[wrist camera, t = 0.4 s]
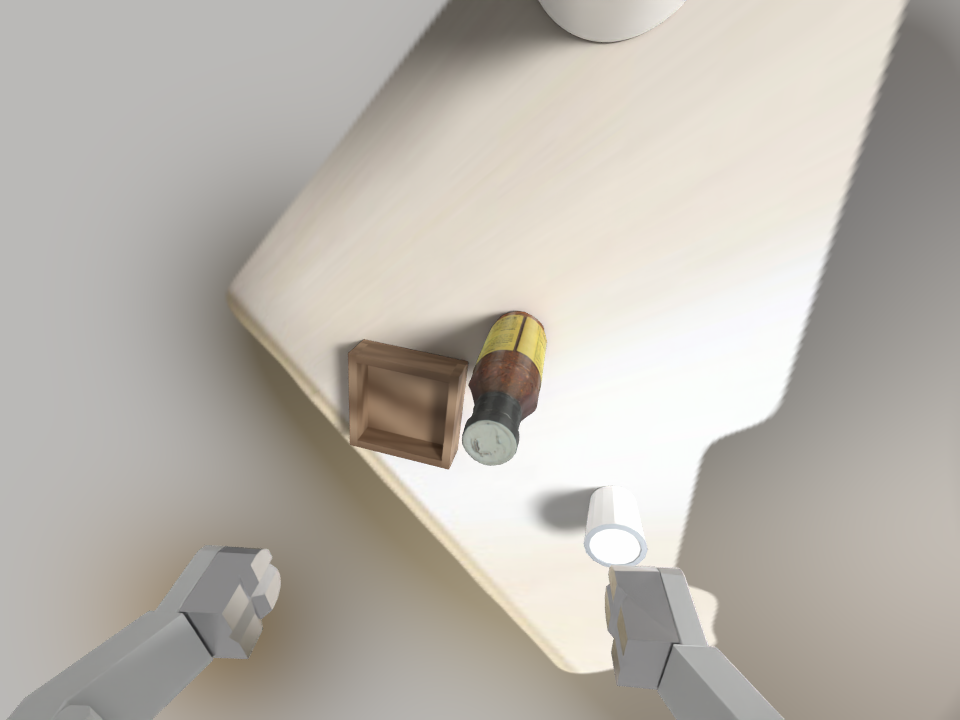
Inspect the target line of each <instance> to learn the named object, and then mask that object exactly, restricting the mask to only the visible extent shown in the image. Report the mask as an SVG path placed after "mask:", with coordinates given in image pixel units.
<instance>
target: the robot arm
mask: <svg viewBox="0 0 960 720" xmlns="http://www.w3.org/2000/svg"><path fill="white" fill-rule="evenodd" d="M685 1H686V0H539V2H540V4H541V5H542V7H543V8H544V10H545V11H546V12H547V14H548V15H549V16H550V17H551V18H552V19H553V20H554V21H555V22H556V23H557V24H558V25H559V26H560V27H562V28H563V29H565V30H566V31H568V32H569V33H571V34H573V35H575V36H578V37H580V38H583V39H586V40H590V41H597V42H615V41H621V40H626V39H629V38H633V37H636V36H638V35H641V34H643V33H645V32H647V31H649V30H651V29H653V28H654V27H656V26H657V25H659V24H661V23H662V22H663V21H665V20H666V19H667V18H669V17H670V16H671V15H672V14H673V13H674V12H675V11H677V10H678V9H679V8H680V7H681V6H682V5H683V4H684V3H685ZM271 559H272V556H271V554H270V552H269V550H268V549H260V548H244V547H228V546H212V545H205V546H204V547H203V548H201V549H200V550H199V551H198V552H197V553H196V554H195V556H194V557H193V559H192V560H191V562H190V563H189V564H188V566H187V567H186V568H185V570H184V571H183V573H182V574H181V575H180V577H179V578H178V580H177V581H176V582H175V584H174V585H173V587H172V588H171V589H170V591H169V592H168V594H167V595H166V596H165V598H164V600H162V602H161V603H160V605H159V606H158V607H157V609H156V610H155V611H148V612H147V613H146V614H144V615H142V616H141V617H139V618H138V619H137V620H135V621H134V622H132V623H131V624H129V625H128V626H127V627H125V628H124V629H122V630H121V631H119V632H118V633H117V634H115V635H114V636H112V637H111V638H109V639H108V640H107V641H105V642H104V643H102V644H101V645H100V646H98V647H97V648H95V649H94V650H92V651H91V652H90V653H88V654H87V655H85V656H84V657H82V658H81V659H80V660H78V661H77V662H76V663H74V664H72V665H71V666H70V667H68V668H67V669H65V670H64V671H63V672H61V673H60V674H58V675H57V676H56V677H54V678H53V679H51V680H50V681H48V682H47V683H45V684H44V685H42V686H41V687H40V688H38V689H37V690H35V691H34V692H32V693H31V694H30V695H28V696H27V697H25V698H24V700H23V701H22V702H21V703H20V704H19V705H18V707H17V708H16V709H15V710H14V712H13V713H12V714H11V715H10V716H9V718H8V719H7V720H152V719H153V718H154V717H155V716H156V715H157V714H158V713H159V712H160V711H161V710H162V709H163V708H164V707H165V706H167V705H168V704H169V703H170V702H171V701H172V699H174V698H175V697H176V696H177V695H178V694H179V693H180V692H181V691H182V690H183V689H184V688H185V687H186V686H187V685H188V684H189V683H190V682H191V681H192V680H193V679H194V678H195V677H196V676H197V675H198V674H199V673H200V672H201V671H202V670H203V669H204V668H205V667H206V666H207V665H208V664H209V663H210V662H211V661H212V660H213V658H212V657H214V658H240V659H248V658H249V656H250V654H251V652H252V650H253V648H254V646H255V644H256V642H257V640H258V638H259V636H260V634H261V632H262V630H263V627H262V620H261V619H262V618H263V617H264V616H266V615H267V614H268V613H269V612H270V611H271V610H272V609H273V607H274V605H275V603H276V601H277V598H278V595H279V590H280V585H281V581H280V574H279V572H278V569H277V568H275V567H273V565H271V564H270V561H271ZM608 575H609V581H610V584H609V585H608V586H606V592H605V613H606V622H607V628H608V631H609V633H610V634H611V635H612V636H613V638H614V640H613V645H612V651H611V654H612V660H613V666H614V671H615V678H616V684H617V686H627V687H637V688H647V689H656V690H658V694H659V695H660V697H661V698H662V699H663V701H664V702H665V704H666V705H667V707H668V708H669V710H670V711H671V713H672V714H673V716H674V717H675V719H676V720H785V719H784V718H783V717H782V716H781V715H780V714H779V713H778V712H777V711H776V710H775V709H774V708H773V707H772V706H771V705H770V704H769V702H768V701H767V700H766V699H765V698H764V697H763V696H762V695H761V694H760V693H759V692H758V691H757V690H756V689H755V688H754V686H753V685H752V684H751V683H750V682H749V681H748V680H747V679H746V678H745V677H744V676H743V675H742V674H741V673H740V672H739V671H738V669H737V668H736V667H735V666H734V665H733V664H732V663H731V662H730V661H729V660H728V659H727V658H726V657H725V656H724V655H723V654H722V653H721V651H720V650H719V649H718V648H717V647H713V646H709V645H708V642H707V640H706V637H705V634H704V631H703V628H702V625H701V622H700V619H699V616H698V613H697V610H696V607H695V604H694V601H693V599H692V596H691V593H690V590H689V587H688V584H687V581H686V578H685V575H684V573H683V572H682V570H681V569H679V568H664V567H655V566H624V565H611V566H610V568H609V574H608Z"/></svg>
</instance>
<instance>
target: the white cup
mask: <svg viewBox="0 0 960 720" xmlns="http://www.w3.org/2000/svg"><path fill="white" fill-rule="evenodd" d="M584 547H585V550H586V553H587V554H588V555H589V556H590V557H591V558H592V559H593V560H594V561H596V562H597V563H599V564H601V565H603V566H607V567H610V566H611V565H624V566H634V565H637V564H638V563H640V562H641V561H642V560H643V559H644V558H645V556H646V553H647V550H648V549H647V545H646V541H645V537H644V533H643V529H642V525H641V521H640V517H639V513H638V509H637V505H636V501H635V497H634V496H633V495H632V494H631V493H630V492H629V491H627V490H626V489H624V488H622V487H617V486H604V487H601V488H599V489H597V490H595V492H594V493H593V494H592V495H591V498H590V503H589V510H588V517H587V524H586V532H585V539H584Z"/></svg>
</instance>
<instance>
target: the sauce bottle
mask: <svg viewBox="0 0 960 720" xmlns="http://www.w3.org/2000/svg"><path fill="white" fill-rule="evenodd" d="M546 343H547V340H546V336H545V332H544V328H543V326H542V324H541V323H540V322H539V321H538V320H537V319H536V318H534V317H533V316H532V315H529V314H528V313H526V312H521V311H515V312H511V313H507V314H505V315H503V316H501V317H500V318H499V319H498V320H497V321H496V323H495V324H494V325H493V326H492V328H491V330H490V332H489V334H488V337H487V339H486V341H485V343H484V346H483V348H482V350H481V353H480V355H479V358H478V360H477V362H476V365H475V367H474V370H473V375H472V377H471V380H470V382H469V387H470V390H471V392H472V396H473V400H474V404H475V406H474V408H473V414H472V417H470V418H469V419H468V420H467V422H466V425H465V428H464V432H463V435H462V444H463V446H464V448H465V450H466V452H467V453H468V454H469V455H470V456H471V457H472V458H473V459H474V460H476V461H478V462H479V463H481V464H484V465H490V466H491V465H501V464H503V463H505V462H507V461H509V460H510V459H511V458H512V457H513V456H514V454H515V453H516V450H517V446H518V443H519V431H518V428H519V425H520V422H521V421H522V420H523V419H524V418H526V417H527V416H528V415H530V414H532V413H533V412H534V411H535V409H536V407H537V402H538V396H539V391H540V388H541V381H542V373H543V365H544V358H545V351H546Z"/></svg>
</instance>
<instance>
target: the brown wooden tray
mask: <svg viewBox="0 0 960 720" xmlns="http://www.w3.org/2000/svg"><path fill="white" fill-rule="evenodd" d="M467 368H468V361H463V360H459V359H454V358H449V357H445V356H440V355H435V354H430V353H426V352H421V351H416V350H412V349H407V348H402V347H398V346H393V345H388V344H384V343H379V342H374V341H369V340H365V339H364V340H363V341H362V342H360V343H359V344H358V345H357V346H356V347H355V348H353V349H352V350H351V351H350V352H349V353H348V374H349V422H350V445H353V446H357V447H361V448H365V449H369V450H373V451H377V452H381V453H385V454H389V455H393V456H397V457H401V458H405V459H409V460H413V461H417V462H421V463H425V464H429V465H433V466H437V467H441V468H445V469H449V468H450V466H451V464H452V461H453V459H454V457H455V455H456V452H457V450H458V443H459V434H460V426H461V418H462V409H463V401H464V393H465V384H466V376H467Z"/></svg>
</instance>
